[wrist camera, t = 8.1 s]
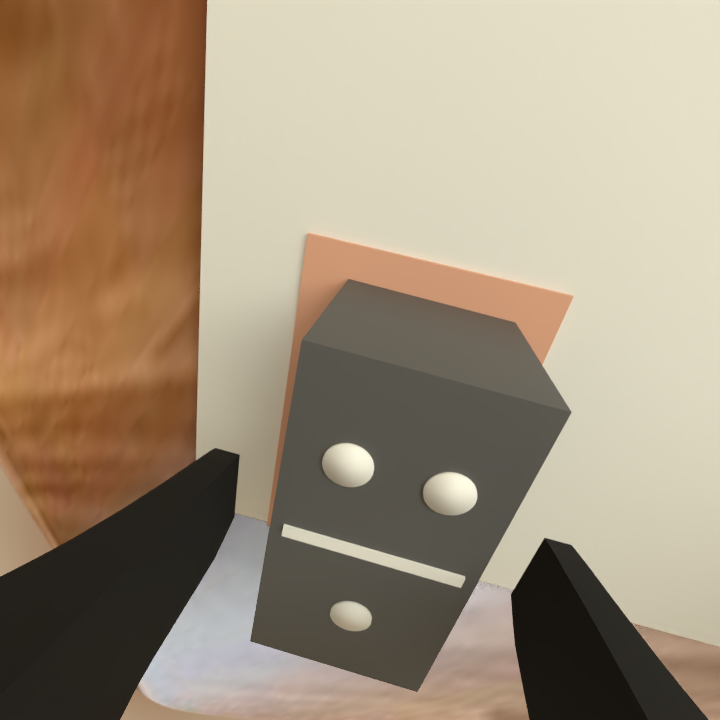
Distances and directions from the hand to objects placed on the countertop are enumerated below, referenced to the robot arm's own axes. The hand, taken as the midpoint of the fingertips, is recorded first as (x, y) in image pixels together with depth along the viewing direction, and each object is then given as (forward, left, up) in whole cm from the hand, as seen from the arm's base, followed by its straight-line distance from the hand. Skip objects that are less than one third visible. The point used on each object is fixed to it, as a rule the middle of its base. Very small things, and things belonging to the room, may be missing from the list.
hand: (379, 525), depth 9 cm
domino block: (0, 0, -4) cm, 4 cm away
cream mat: (-4, -3, -4) cm, 7 cm away
